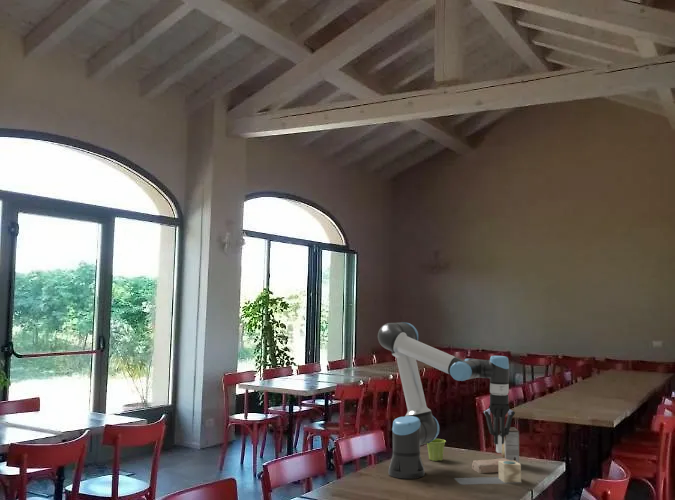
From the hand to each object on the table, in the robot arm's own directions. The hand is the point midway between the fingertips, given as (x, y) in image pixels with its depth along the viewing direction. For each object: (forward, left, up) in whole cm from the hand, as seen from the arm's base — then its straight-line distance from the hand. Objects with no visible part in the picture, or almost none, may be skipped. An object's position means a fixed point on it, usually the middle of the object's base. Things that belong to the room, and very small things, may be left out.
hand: (498, 452), depth 286 cm
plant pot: (-17, +40, -12) cm, 45 cm away
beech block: (+4, 0, -4) cm, 6 cm away
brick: (+3, +17, -12) cm, 21 cm away
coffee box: (+14, +27, -12) cm, 33 cm away
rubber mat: (-5, 0, -12) cm, 13 cm away
